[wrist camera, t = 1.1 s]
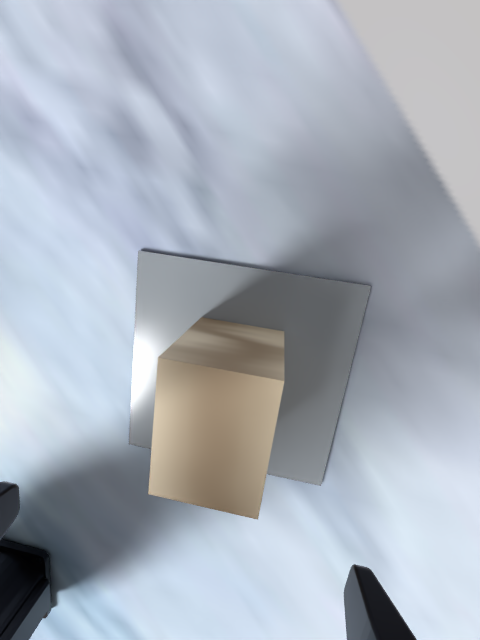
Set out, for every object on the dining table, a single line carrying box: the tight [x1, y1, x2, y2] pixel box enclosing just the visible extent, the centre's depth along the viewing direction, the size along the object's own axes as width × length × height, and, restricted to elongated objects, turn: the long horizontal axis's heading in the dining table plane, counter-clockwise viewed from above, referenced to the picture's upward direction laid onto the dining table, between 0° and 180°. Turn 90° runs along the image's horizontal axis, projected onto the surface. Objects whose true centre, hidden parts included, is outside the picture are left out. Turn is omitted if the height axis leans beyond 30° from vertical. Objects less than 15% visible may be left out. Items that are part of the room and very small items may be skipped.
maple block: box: [148, 317, 284, 519], centre depth 14 cm, size 4×6×6 cm
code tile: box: [129, 251, 371, 486], centre depth 17 cm, size 12×12×1 cm
